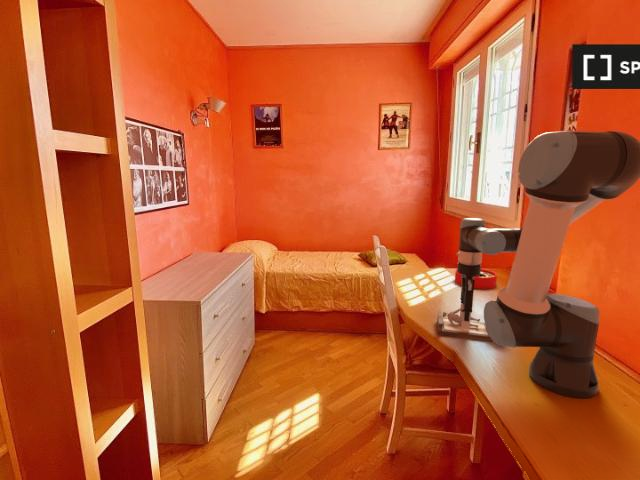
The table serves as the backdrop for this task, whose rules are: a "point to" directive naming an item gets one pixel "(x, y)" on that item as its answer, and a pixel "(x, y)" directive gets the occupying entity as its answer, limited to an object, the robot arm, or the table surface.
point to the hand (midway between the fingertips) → (464, 324)
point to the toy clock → (481, 279)
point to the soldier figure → (457, 318)
